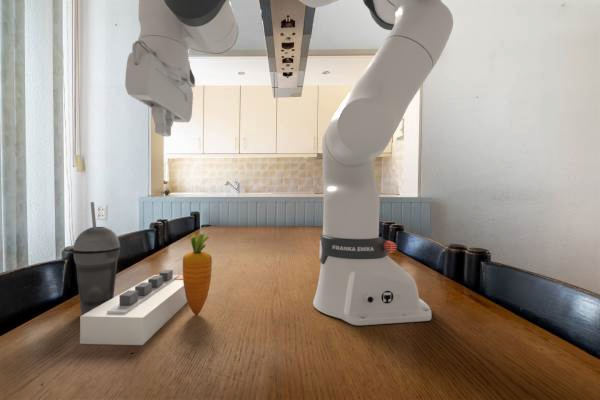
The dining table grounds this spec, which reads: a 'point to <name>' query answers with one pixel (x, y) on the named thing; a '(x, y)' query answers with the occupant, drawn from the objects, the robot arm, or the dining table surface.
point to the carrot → (197, 274)
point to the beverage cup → (96, 265)
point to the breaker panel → (135, 312)
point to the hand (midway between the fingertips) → (163, 135)
